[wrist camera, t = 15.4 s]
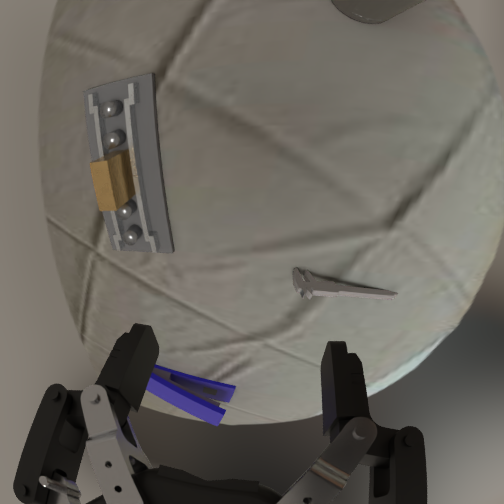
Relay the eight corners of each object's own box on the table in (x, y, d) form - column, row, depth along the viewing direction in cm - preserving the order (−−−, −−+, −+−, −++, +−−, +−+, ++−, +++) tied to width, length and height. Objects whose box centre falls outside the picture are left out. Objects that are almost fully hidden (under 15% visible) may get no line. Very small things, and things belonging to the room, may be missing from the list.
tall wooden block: (120, 194, 38) (99, 211, 33) (112, 151, 34) (89, 163, 29) (136, 193, 38) (116, 210, 33) (129, 149, 34) (106, 160, 29)
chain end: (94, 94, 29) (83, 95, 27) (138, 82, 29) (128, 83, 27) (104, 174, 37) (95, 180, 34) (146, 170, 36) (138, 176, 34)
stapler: (229, 399, 73) (224, 428, 65) (139, 374, 71) (129, 400, 63) (236, 383, 66) (231, 415, 58) (135, 355, 65) (123, 384, 57)
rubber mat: (86, 90, 30) (83, 91, 29) (154, 73, 29) (151, 73, 28) (115, 247, 45) (112, 249, 44) (174, 250, 44) (172, 253, 43)
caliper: (292, 270, 44) (293, 297, 39) (294, 265, 44) (295, 291, 38) (394, 296, 45) (404, 320, 40) (397, 291, 45) (407, 316, 39)
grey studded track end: (104, 174, 37) (95, 180, 34) (146, 170, 36) (138, 176, 34) (121, 245, 44) (113, 253, 41) (160, 247, 43) (154, 256, 41)
